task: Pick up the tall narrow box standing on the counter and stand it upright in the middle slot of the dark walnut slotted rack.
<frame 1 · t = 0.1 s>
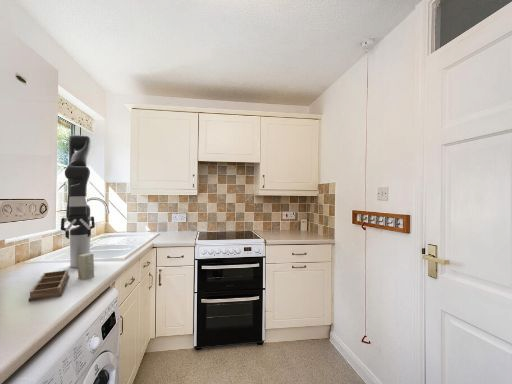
hand: (78, 237, 135), 17 cm above the worktop, tool pointing down, fingers open, 8 cm apart
box: (86, 278, 126), on the worktop
rack: (51, 287, 113), on the worktop
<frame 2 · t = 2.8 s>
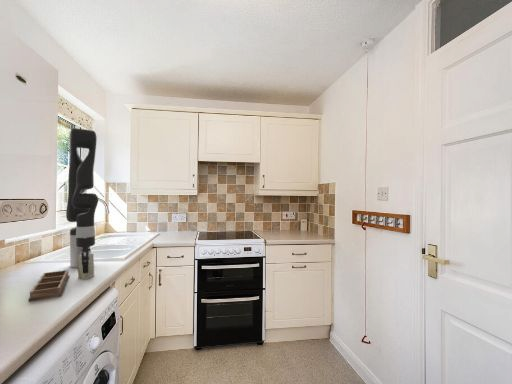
hand: (86, 270, 126), 3 cm above the worktop, tool pointing down, fingers closed on box, 6 cm apart
box: (86, 278, 126), on the worktop, touching gripper
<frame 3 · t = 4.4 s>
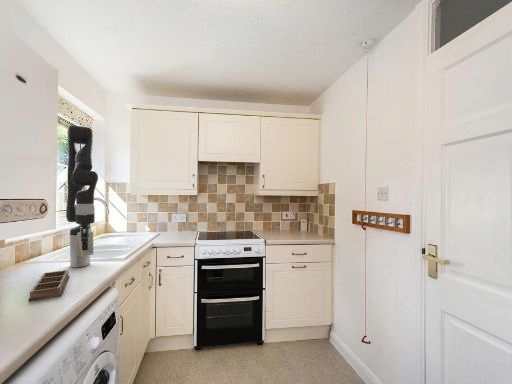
hand: (85, 248, 126), 14 cm above the worktop, tool pointing down, fingers closed on box, 6 cm apart
box: (85, 255, 126), point 10 cm above the worktop, touching gripper
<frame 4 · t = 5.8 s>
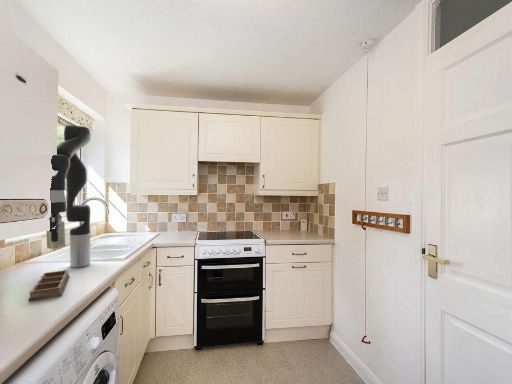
hand: (55, 240, 114), 20 cm above the worktop, tool pointing down, fingers closed on box, 6 cm apart
box: (56, 248, 114), point 17 cm above the worktop, touching gripper
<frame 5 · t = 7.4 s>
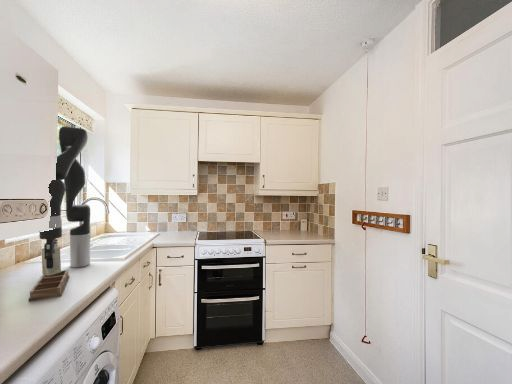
hand: (51, 266, 113), 9 cm above the worktop, tool pointing down, fingers closed on box, 6 cm apart
box: (51, 274, 113), point 6 cm above the worktop, touching gripper
when the fingers open (5 cm above the worktop, at t = 8.8 s): box stays where it is, resting on rack.
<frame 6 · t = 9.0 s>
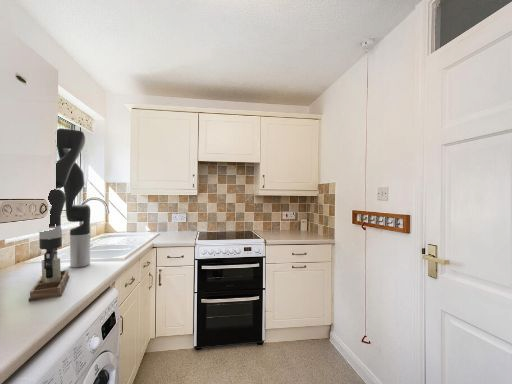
hand: (51, 274, 113), 6 cm above the worktop, tool pointing down, fingers open, 8 cm apart
box: (51, 285, 113), point 1 cm above the worktop, touching rack
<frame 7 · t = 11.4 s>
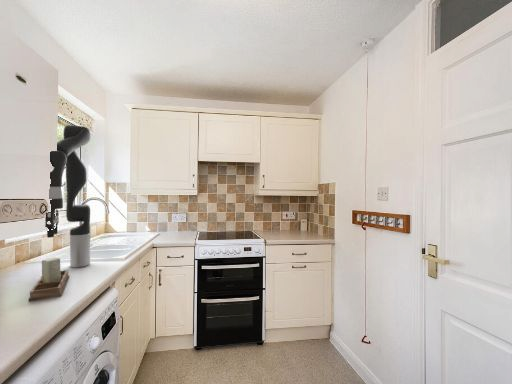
hand: (52, 235, 114), 22 cm above the worktop, tool pointing down, fingers open, 8 cm apart
nothing on the worktop moved.
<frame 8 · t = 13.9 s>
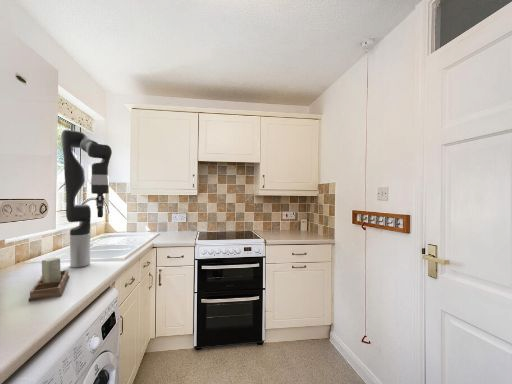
hand: (100, 216, 134), 28 cm above the worktop, tool pointing down, fingers open, 8 cm apart
nothing on the worktop moved.
at the end: box 0.1 cm off-centre on the rack, point 1.0 cm above the rack's base; box tilted 0°; the gripper is holding nothing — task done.
